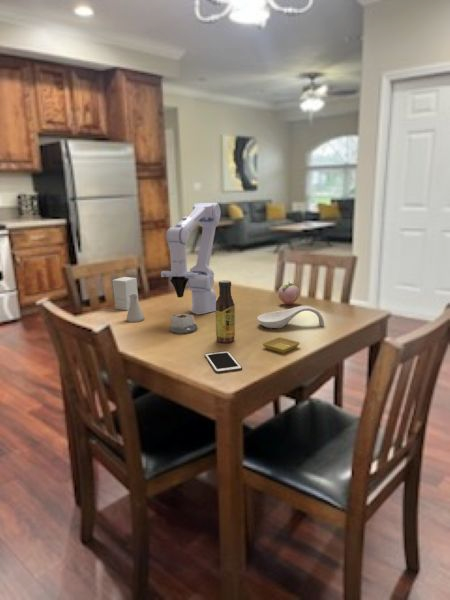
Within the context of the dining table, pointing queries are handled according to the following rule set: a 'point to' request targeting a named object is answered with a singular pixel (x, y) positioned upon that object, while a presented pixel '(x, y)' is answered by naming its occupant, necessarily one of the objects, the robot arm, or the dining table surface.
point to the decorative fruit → (288, 293)
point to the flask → (134, 310)
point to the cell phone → (223, 362)
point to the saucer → (278, 347)
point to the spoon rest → (285, 316)
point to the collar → (182, 321)
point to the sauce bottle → (225, 313)
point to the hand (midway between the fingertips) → (180, 296)
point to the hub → (183, 330)
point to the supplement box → (124, 291)
